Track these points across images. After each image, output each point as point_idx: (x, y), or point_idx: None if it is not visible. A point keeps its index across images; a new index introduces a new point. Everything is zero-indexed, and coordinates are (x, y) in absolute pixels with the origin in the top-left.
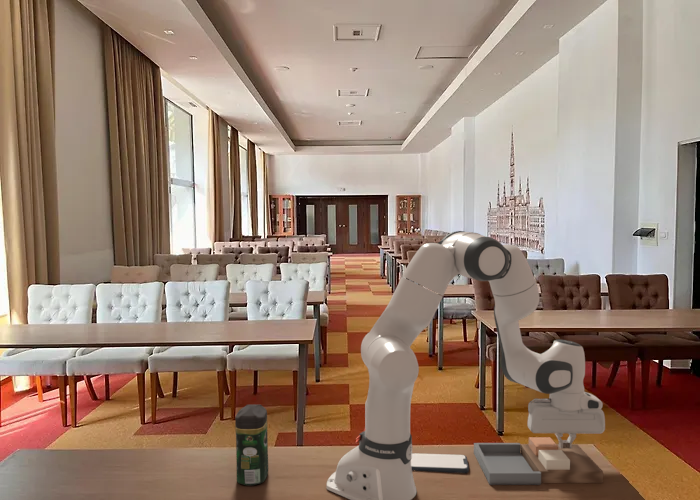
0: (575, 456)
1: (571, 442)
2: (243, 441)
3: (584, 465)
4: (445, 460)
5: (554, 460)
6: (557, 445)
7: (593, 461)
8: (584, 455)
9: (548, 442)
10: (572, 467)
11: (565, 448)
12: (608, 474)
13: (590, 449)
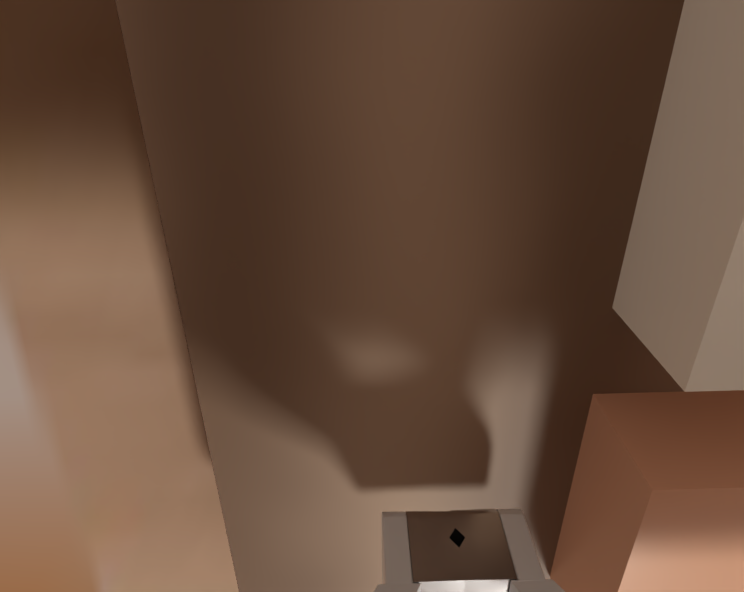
0: (376, 376)
1: (391, 587)
2: None
3: (359, 101)
4: None
5: None
6: None
7: (167, 245)
8: (244, 403)
9: (710, 583)
10: (600, 22)
11: None
12: (33, 148)
13: (117, 588)
